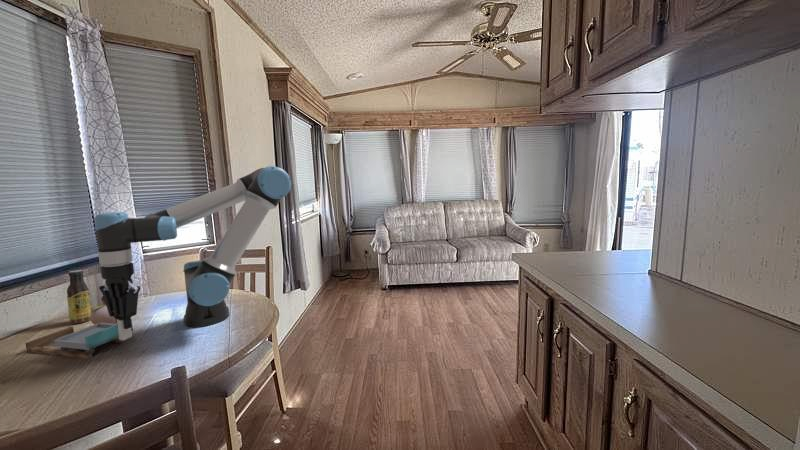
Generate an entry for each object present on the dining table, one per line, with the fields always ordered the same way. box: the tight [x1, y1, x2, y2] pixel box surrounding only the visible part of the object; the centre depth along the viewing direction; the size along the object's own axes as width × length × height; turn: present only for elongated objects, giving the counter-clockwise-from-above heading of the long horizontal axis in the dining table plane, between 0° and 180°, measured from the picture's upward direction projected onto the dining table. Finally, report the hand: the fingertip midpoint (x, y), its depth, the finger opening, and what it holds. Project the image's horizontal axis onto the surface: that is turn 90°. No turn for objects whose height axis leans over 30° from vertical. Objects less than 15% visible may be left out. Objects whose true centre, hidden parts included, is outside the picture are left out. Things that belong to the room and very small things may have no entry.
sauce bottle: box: [66, 269, 92, 325], centre depth 126 cm, size 6×6×20 cm
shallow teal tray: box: [52, 319, 134, 354], centre depth 105 cm, size 14×13×6 cm
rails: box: [25, 326, 127, 359], centre depth 107 cm, size 24×12×3 cm, turn 78°
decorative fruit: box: [89, 304, 117, 325], centre depth 120 cm, size 9×8×10 cm
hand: (125, 338), depth 102 cm, fingers closed
